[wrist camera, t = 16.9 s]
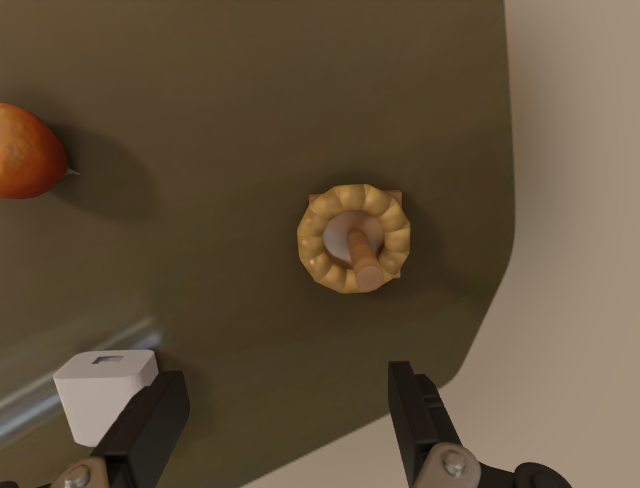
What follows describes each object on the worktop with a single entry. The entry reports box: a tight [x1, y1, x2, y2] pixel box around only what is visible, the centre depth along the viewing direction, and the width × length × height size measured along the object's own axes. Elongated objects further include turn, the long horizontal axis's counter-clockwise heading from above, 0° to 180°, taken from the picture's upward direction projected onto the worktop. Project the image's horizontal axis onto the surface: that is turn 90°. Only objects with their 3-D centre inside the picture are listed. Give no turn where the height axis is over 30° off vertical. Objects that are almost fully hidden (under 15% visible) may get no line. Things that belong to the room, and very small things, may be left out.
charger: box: [53, 350, 159, 447], centre depth 39 cm, size 5×9×15 cm
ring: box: [297, 184, 410, 293], centre depth 32 cm, size 11×11×2 cm
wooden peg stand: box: [309, 190, 402, 291], centre depth 29 cm, size 9×9×11 cm
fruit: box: [0, 103, 80, 199], centre depth 30 cm, size 8×8×8 cm
